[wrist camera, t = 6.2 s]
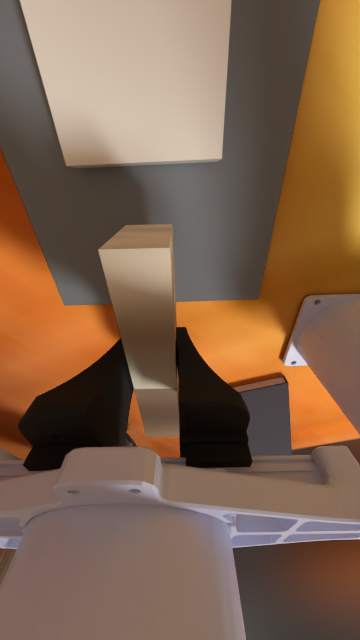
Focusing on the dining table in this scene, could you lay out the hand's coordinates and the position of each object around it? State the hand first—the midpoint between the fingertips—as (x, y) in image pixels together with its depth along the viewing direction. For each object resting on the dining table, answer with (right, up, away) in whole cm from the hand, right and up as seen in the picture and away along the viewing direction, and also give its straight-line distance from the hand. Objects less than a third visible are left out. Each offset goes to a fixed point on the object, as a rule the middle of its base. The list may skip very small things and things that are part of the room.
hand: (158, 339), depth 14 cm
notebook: (+11, -15, +16) cm, 24 cm away
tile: (0, +10, -3) cm, 10 cm away
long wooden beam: (0, +1, +1) cm, 1 cm away
